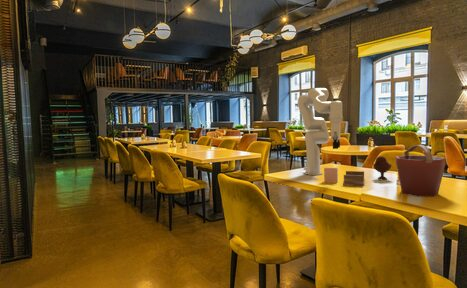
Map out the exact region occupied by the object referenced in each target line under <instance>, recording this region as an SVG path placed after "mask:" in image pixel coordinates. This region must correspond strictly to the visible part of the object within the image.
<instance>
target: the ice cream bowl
mask: <svg viewBox="0 0 467 288" xmlns="http://www.w3.org/2000/svg"><path fill="white" fill-rule="evenodd" d="M373 168H374V170H375V171H377V172H378V173H380V176H378V177H377V180H387V179H388V178H387V177H386V176H385V173H387V172H388V171H389V170H391V168H392V163H391V164H390V163H389V162H388V160H387V158H386V157H385V156H382V155H379V156H377V157H376V158H375V162H374V163H373Z"/></svg>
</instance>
